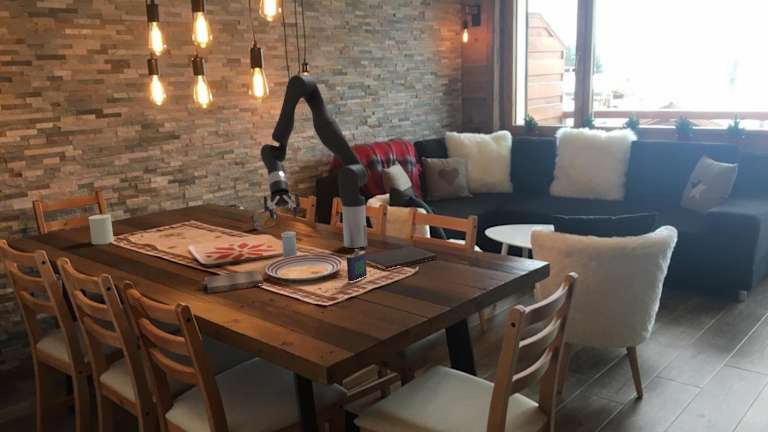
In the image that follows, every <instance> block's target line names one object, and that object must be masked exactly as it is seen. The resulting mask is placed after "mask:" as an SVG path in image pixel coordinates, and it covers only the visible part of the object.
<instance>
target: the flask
mask: <svg viewBox="0 0 768 432" xmlns="http://www.w3.org/2000/svg"><path fill="white" fill-rule="evenodd" d="M353 250H355V251H354V252H353V253H352V254H348V255H347V256H346V270H347V271H346V274H347V282H348V281H354V280H357V279H359V278H362V277H364V276H366V275H367V276H368V273H367V272H368V271H367V263H366V256H367V254H366V251H365V250H364V251H363V250H362V251H361V250H360V249H353Z"/></svg>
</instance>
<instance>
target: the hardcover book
mask: <svg viewBox="0 0 768 432" xmlns="http://www.w3.org/2000/svg"><path fill="white" fill-rule="evenodd" d="M433 258H437V259H438V256H437V254H436V253H434V252H430V251H428V250H425V249H422V248H419V247H415V246H413V245H411V246H410V245H409V246H407V247H406V246H405V247H401V248H397V249H391V250H388V251H383V252H379V253H373V254H369V255H366V261H367V262H370V263H372V264H375V265H377V266H380V267H382V268H385V269H388V268H392V267H397V266H403V265H408V264H413V263H417V262H421V261H425V260H429V259H433Z"/></svg>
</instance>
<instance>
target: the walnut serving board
mask: <svg viewBox="0 0 768 432" xmlns="http://www.w3.org/2000/svg"><path fill="white" fill-rule="evenodd" d="M259 284H264V279H263V277H262V276H261V274H260V273H259V271H258V270H249V271H241V272H234V273H233V272H232V273H227V274H220V275H219V274H218V275H212V276H206V277H204V281H201V282H199V289H200V290H207V293H208V294H212V293H219V292H226V291H234V290H241V289H248V288H254V287H253V286H255V285H259ZM247 287H248V288H247ZM255 287H256V286H255Z"/></svg>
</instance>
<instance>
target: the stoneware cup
mask: <svg viewBox="0 0 768 432" xmlns="http://www.w3.org/2000/svg"><path fill="white" fill-rule="evenodd" d="M280 235H281V243H282V244H281V245H282V246H281V247H282V258H285V257H290V256H295V255H298V253H297V240H296V239H297V237H296V235H297V234H296V232H295V231H284V232H282V233H280Z"/></svg>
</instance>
